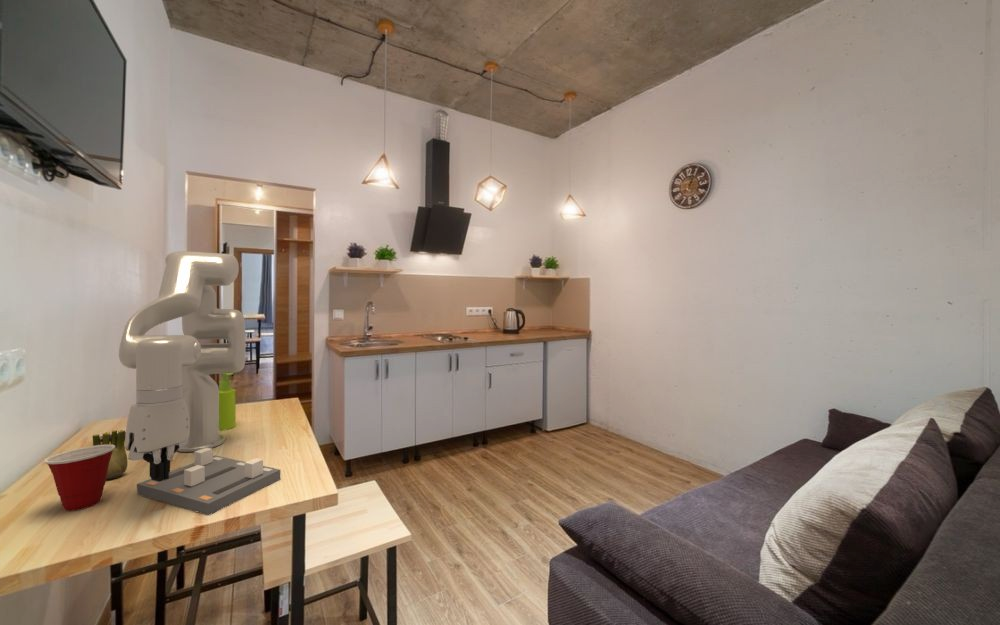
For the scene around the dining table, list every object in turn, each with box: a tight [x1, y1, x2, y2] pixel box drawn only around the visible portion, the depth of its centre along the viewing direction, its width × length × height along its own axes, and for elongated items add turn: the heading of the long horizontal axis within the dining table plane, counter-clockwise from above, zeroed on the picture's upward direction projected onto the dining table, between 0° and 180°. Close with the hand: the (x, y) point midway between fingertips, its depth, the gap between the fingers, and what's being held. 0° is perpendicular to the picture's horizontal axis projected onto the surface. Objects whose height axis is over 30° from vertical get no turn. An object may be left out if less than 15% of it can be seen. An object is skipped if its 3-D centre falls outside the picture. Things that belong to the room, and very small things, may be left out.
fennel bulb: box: [92, 429, 128, 481], centre depth 100 cm, size 6×5×12 cm
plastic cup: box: [43, 444, 115, 512], centre depth 87 cm, size 11×11×12 cm
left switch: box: [193, 448, 214, 466], centre depth 103 cm, size 2×3×4 cm
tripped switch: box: [184, 465, 205, 486], centre depth 93 cm, size 2×3×4 cm
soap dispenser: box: [219, 373, 237, 431], centre depth 138 cm, size 6×7×20 cm
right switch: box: [244, 457, 264, 478], centre depth 97 cm, size 2×3×4 cm
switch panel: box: [136, 454, 281, 516], centre depth 97 cm, size 24×18×3 cm
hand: (159, 479), depth 85 cm, fingers closed
